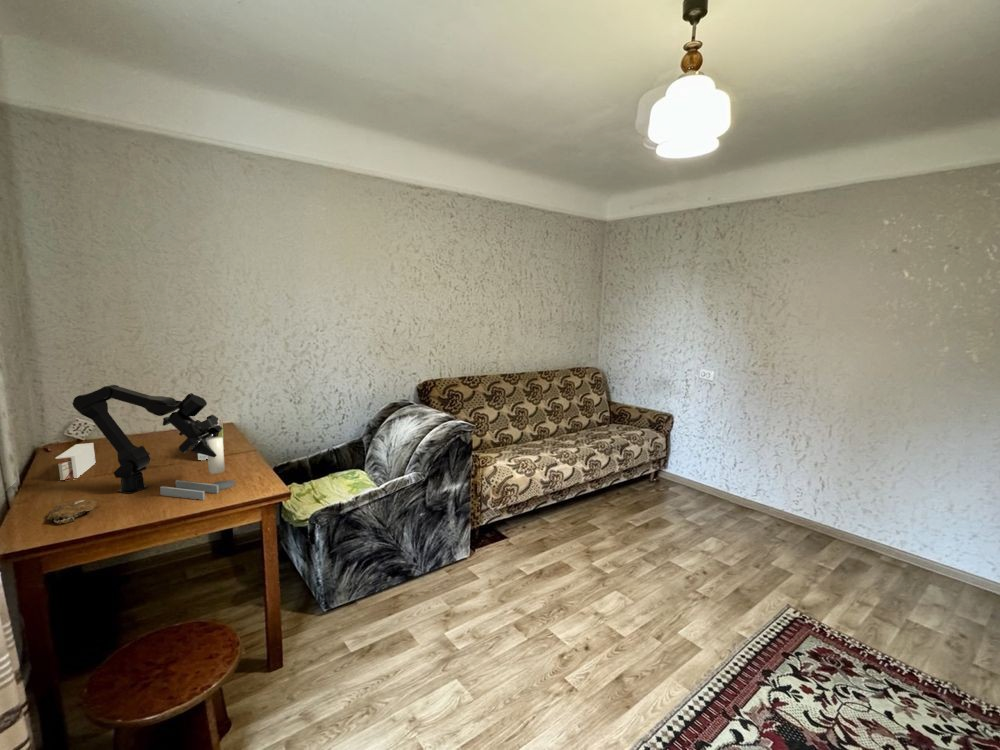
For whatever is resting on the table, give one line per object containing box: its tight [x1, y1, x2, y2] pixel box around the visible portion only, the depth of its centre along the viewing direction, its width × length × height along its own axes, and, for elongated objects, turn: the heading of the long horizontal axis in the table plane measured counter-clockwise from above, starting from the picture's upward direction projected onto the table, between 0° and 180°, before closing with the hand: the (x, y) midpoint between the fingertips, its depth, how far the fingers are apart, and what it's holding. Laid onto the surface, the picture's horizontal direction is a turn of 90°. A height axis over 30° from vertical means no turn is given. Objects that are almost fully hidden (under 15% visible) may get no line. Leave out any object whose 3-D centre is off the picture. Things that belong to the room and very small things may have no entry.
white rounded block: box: [207, 436, 226, 475], centre depth 164 cm, size 5×5×12 cm
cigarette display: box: [55, 442, 97, 481], centre depth 178 cm, size 20×6×9 cm, turn 26°
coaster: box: [211, 479, 237, 491], centre depth 168 cm, size 9×9×1 cm
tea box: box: [197, 419, 225, 461], centre depth 202 cm, size 15×10×15 cm
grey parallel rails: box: [159, 479, 220, 501], centre depth 160 cm, size 18×7×3 cm, turn 79°
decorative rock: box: [46, 499, 98, 524], centre depth 142 cm, size 11×4×15 cm
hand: (219, 454), depth 164 cm, fingers closed on white rounded block, 5 cm apart
